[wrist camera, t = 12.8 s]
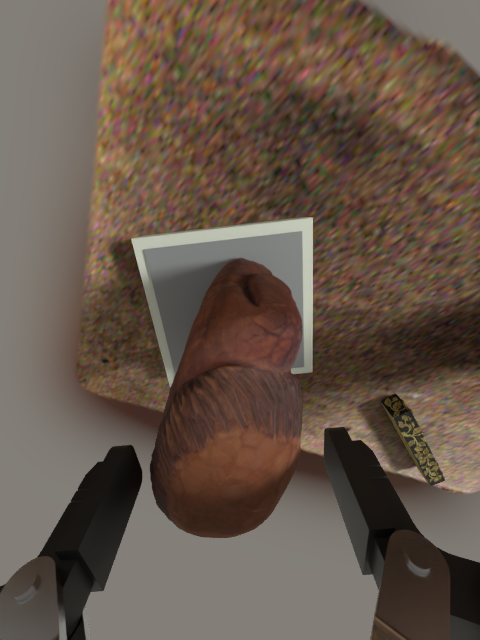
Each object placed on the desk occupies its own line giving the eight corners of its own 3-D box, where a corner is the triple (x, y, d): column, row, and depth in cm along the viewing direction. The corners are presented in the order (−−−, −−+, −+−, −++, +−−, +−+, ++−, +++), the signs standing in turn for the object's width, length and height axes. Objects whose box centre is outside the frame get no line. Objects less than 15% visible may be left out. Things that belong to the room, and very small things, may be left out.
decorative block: (429, 459, 39) (447, 481, 36) (414, 465, 39) (431, 488, 36) (395, 391, 34) (412, 410, 31) (378, 399, 34) (393, 418, 31)
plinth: (303, 217, 25) (313, 217, 22) (305, 357, 31) (313, 373, 28) (143, 235, 25) (129, 239, 22) (175, 370, 32) (169, 388, 28)
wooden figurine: (244, 369, 28) (259, 605, 11) (186, 353, 27) (108, 584, 10) (286, 265, 23) (415, 393, 7) (219, 242, 22) (179, 323, 6)
